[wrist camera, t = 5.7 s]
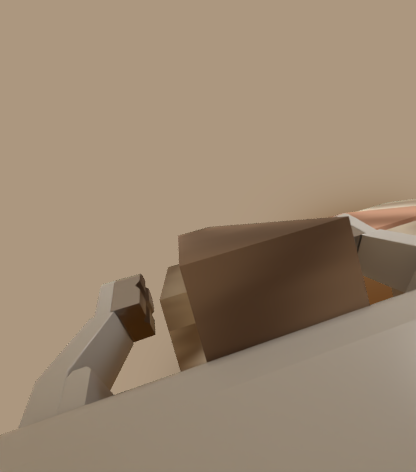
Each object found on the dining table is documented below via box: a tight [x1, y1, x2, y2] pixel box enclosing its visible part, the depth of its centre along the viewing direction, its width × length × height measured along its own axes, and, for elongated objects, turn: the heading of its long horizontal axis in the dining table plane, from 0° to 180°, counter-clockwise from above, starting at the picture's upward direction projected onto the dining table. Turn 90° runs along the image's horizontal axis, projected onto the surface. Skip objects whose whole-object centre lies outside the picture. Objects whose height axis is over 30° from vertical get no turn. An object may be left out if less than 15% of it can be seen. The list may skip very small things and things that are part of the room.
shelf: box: [160, 199, 416, 371], centre depth 22 cm, size 28×12×26 cm, turn 98°
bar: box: [178, 216, 370, 362], centre depth 17 cm, size 4×24×3 cm, turn 8°
